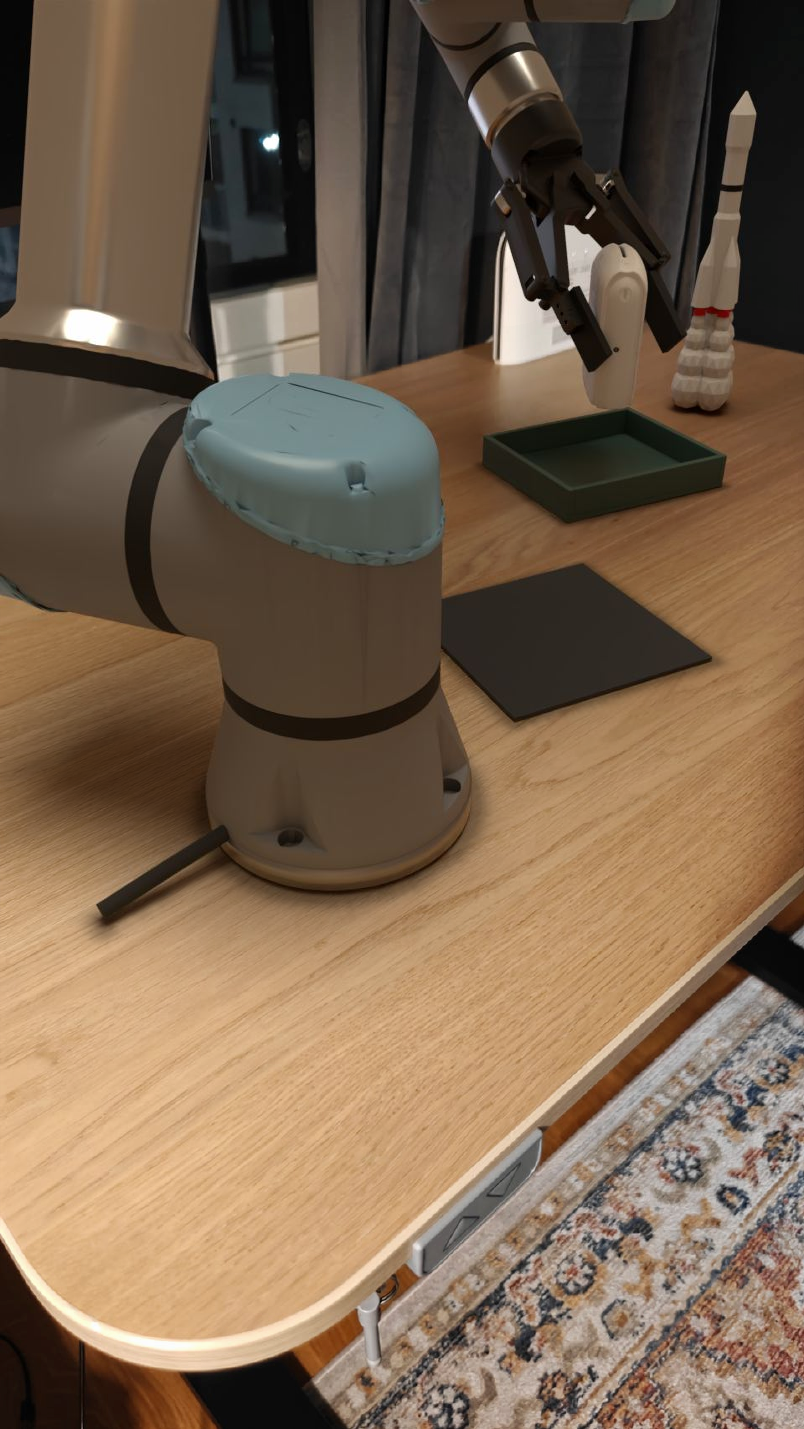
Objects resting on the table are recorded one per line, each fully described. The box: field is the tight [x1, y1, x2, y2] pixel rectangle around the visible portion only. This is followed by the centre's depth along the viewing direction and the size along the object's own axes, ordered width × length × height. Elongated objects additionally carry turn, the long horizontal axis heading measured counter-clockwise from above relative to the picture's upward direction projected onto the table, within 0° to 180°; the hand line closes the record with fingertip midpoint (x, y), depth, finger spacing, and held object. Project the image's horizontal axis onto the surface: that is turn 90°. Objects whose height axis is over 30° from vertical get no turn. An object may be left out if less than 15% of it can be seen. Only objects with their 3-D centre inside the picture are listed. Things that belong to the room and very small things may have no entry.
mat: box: [441, 562, 713, 722], centre depth 74 cm, size 16×16×1 cm
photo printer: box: [581, 243, 648, 411], centre depth 90 cm, size 10×4×12 cm, turn 177°
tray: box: [481, 406, 728, 524], centre depth 97 cm, size 17×15×3 cm
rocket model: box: [670, 90, 757, 412], centre depth 105 cm, size 7×7×30 cm
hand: (638, 353), depth 89 cm, fingers closed on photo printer, 8 cm apart
